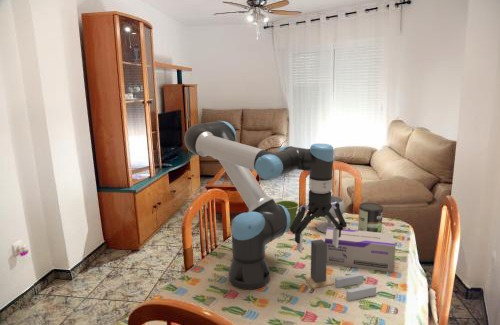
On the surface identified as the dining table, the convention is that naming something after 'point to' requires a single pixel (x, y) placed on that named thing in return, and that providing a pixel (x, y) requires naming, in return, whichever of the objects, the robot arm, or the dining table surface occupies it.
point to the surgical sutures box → (361, 250)
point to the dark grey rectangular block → (318, 260)
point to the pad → (319, 284)
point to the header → (356, 292)
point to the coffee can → (370, 217)
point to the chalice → (324, 226)
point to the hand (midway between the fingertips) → (317, 248)
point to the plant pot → (290, 209)
